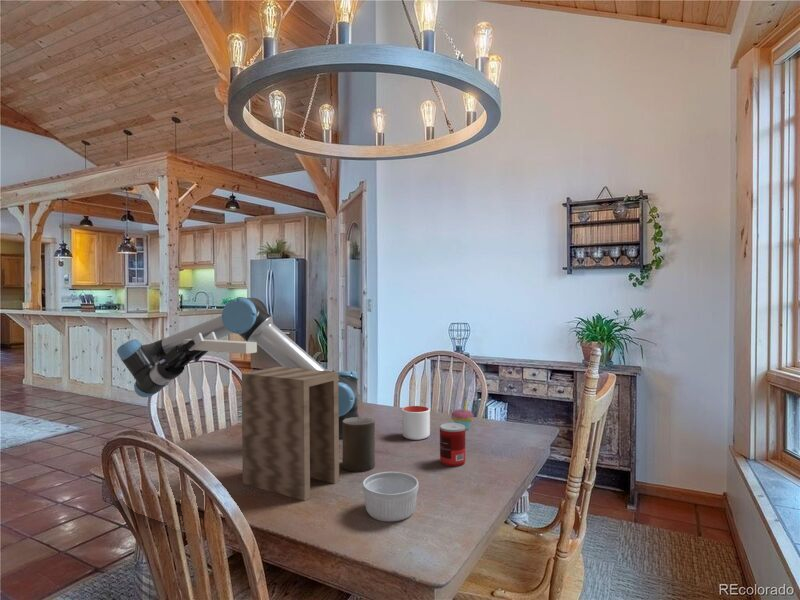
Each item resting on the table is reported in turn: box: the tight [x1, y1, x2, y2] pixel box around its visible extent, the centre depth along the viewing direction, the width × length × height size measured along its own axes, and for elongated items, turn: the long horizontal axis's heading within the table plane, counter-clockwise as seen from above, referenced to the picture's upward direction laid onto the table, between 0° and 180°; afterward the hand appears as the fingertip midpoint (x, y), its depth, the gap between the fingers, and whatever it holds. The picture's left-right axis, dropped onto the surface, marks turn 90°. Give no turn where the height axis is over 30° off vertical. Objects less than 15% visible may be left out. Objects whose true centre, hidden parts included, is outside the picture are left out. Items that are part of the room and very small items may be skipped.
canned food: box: [439, 422, 466, 467], centre depth 142 cm, size 8×8×11 cm
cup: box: [401, 405, 431, 441], centre depth 168 cm, size 10×10×10 cm
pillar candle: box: [342, 415, 376, 473], centre depth 139 cm, size 10×10×15 cm
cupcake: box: [450, 397, 475, 431], centre depth 178 cm, size 9×8×12 cm
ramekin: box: [362, 471, 419, 523], centre depth 110 cm, size 13×13×7 cm
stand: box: [241, 366, 340, 501], centre depth 127 cm, size 22×14×30 cm, turn 60°
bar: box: [183, 339, 258, 355], centre depth 141 cm, size 28×4×3 cm, turn 60°
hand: (208, 336), depth 144 cm, fingers closed on bar, 4 cm apart
